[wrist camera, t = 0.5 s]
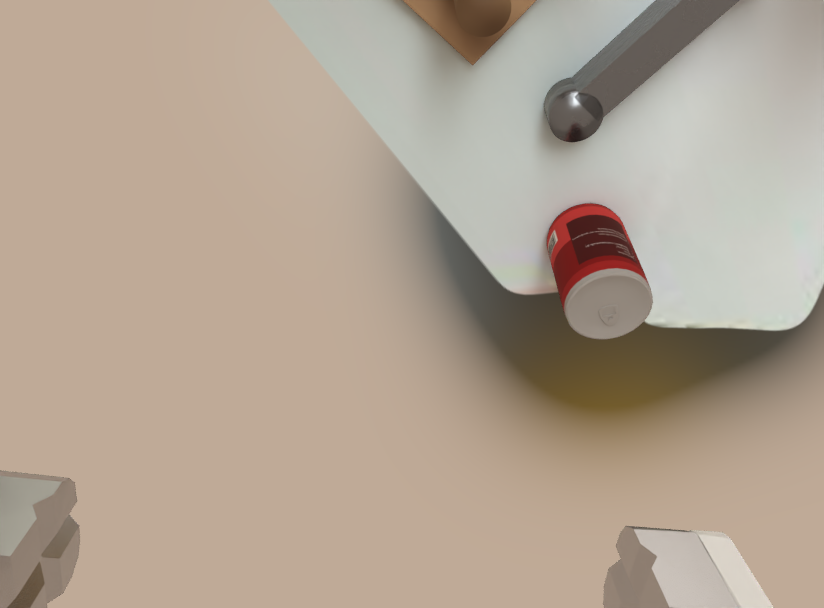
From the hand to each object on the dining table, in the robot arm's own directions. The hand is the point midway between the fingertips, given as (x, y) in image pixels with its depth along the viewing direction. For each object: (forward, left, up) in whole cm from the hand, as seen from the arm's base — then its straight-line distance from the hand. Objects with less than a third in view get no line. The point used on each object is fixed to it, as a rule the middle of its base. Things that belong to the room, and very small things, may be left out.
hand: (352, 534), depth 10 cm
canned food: (+10, +35, -51) cm, 62 cm away
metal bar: (-6, +23, -50) cm, 56 cm away
